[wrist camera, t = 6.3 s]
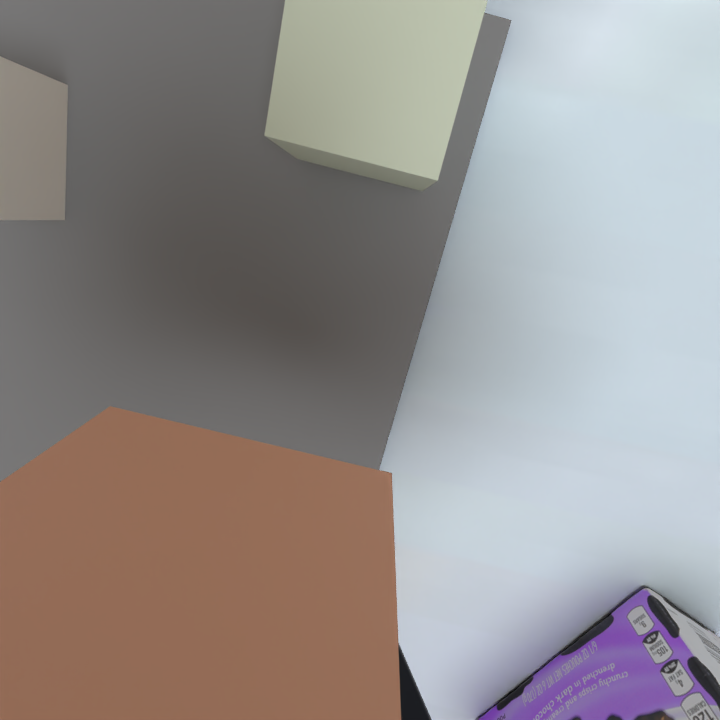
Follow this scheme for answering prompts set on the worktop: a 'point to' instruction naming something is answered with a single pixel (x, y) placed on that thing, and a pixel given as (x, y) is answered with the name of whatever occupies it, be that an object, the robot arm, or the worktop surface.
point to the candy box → (627, 671)
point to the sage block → (372, 84)
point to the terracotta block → (195, 580)
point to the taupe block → (32, 144)
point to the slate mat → (210, 241)
